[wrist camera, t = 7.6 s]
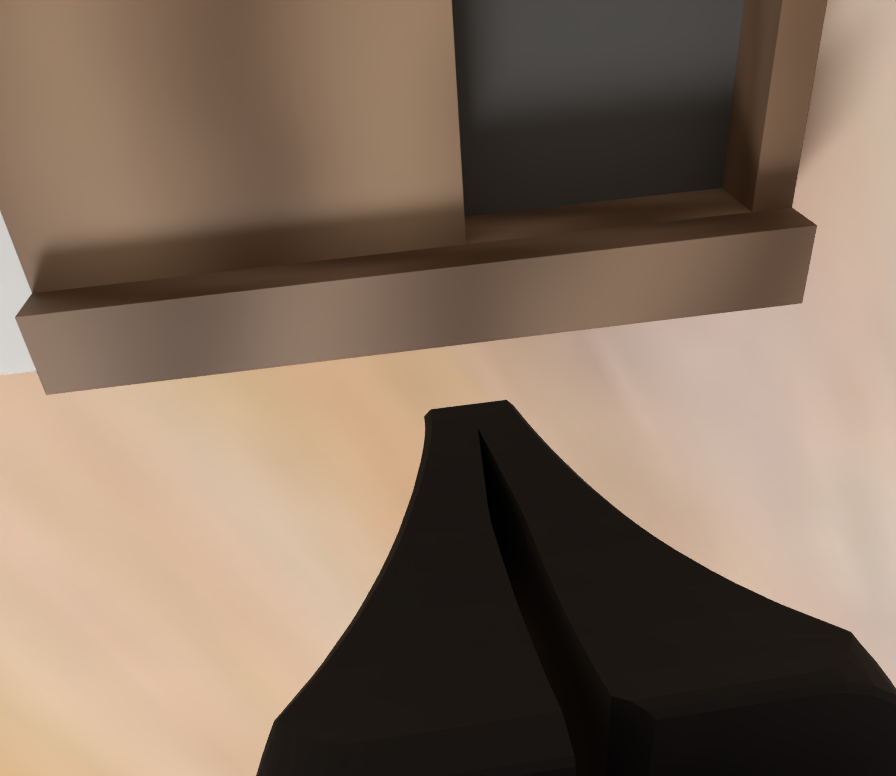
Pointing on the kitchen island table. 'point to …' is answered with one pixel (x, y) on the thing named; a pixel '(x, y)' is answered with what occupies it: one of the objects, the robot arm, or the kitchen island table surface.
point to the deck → (387, 175)
